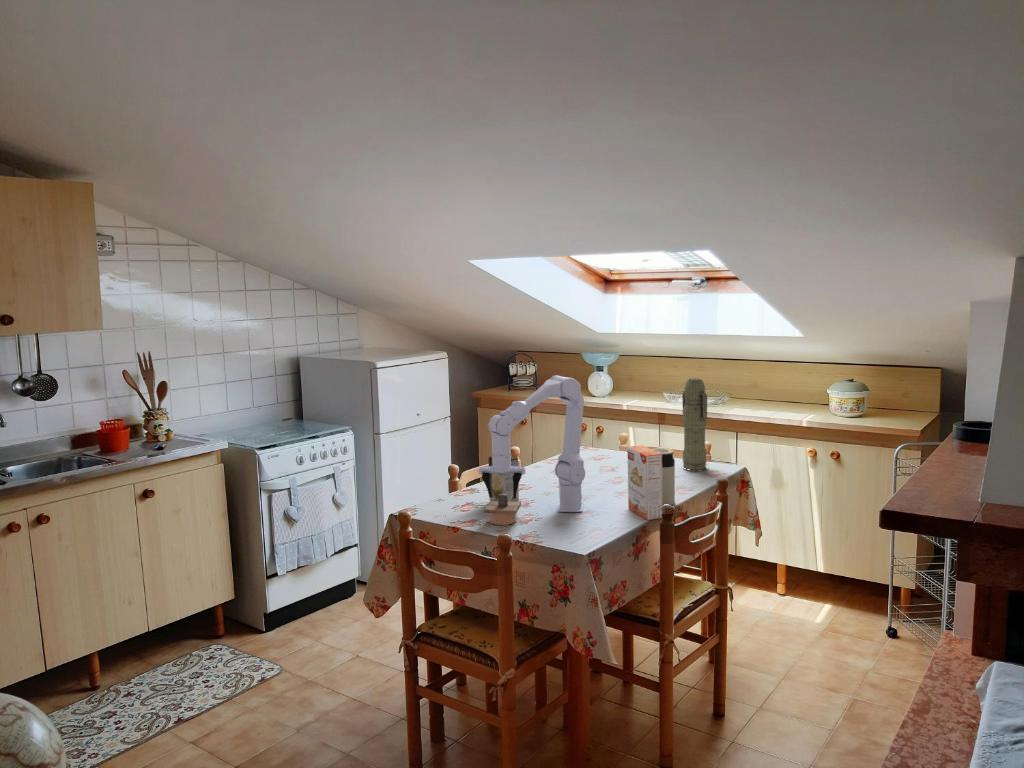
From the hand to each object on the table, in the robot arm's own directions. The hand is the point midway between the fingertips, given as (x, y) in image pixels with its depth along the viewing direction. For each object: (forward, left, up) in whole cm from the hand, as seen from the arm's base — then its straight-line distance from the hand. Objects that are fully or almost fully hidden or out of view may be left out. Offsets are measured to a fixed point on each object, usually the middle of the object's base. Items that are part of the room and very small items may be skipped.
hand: (502, 496), depth 254 cm
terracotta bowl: (0, 0, -8) cm, 8 cm away
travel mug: (-23, +50, -8) cm, 56 cm away
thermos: (-72, +64, -8) cm, 97 cm away
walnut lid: (0, 0, -4) cm, 4 cm away
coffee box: (-21, -3, -8) cm, 23 cm away
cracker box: (-11, +44, -8) cm, 46 cm away
